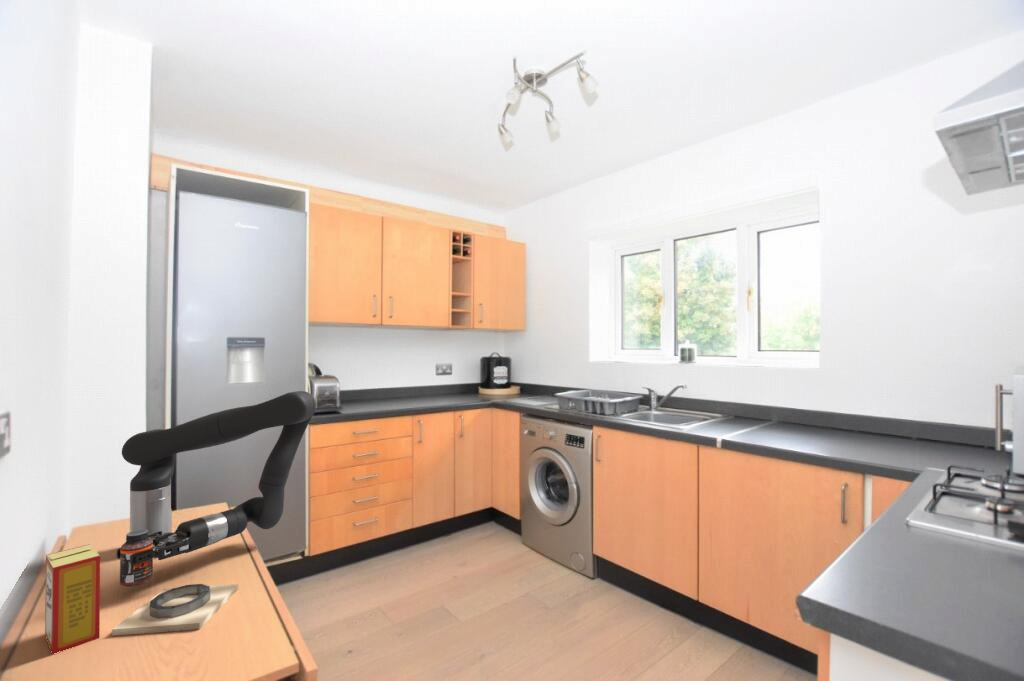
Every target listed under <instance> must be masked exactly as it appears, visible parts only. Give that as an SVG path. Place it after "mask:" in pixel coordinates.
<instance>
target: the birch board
mask: <svg viewBox="0 0 1024 681" xmlns="http://www.w3.org/2000/svg"><path fill="white" fill-rule="evenodd" d="M209 586H210V600H209V601H208V602H207V603H206V604H205V605H204V606H203V607H201V608H199V609H197V610H195V611H193V612H191V613H188V614H184V615H181V616H177V617H173V618H162V619H157V618H154V617H151V616H150V601H151V600H153V599H154V598H155V597H156V596H158V595H159V594H161V593H164V592H166V591H168V590H171V589H173V588H174V587H171V588H170V587H169V588H163V590H161V591H160V592H159V593H157V594H156V595H155V596H153V597H152V598H150V599H149V600H147V602H146V603H144V604H143V605H142V606H140V607H139V608H138V609H137V610H135V611H134V612H132V613H131V614H130V615H129V616H127V617H126V618H125V619H124V620H122V621H121V622H120V623H119V624H117V625H115V627H113V628H112V629H111V636H126V635H140V634H142V635H143V634H153V633H154V634H155V633H164V632H165V633H167V632H168V631H169V632H179V631H181V630H182V631H191V630H192V631H193V630H200V629H201V628H202V627H203V626H204V625H205V624H206V623H207V622H208V621H209V620H210V619H212V617H213V616H214V615H215V614H216V613H217V612H218V611H219V610H220V609H221V608H222V607H223V606H224V605H225V604H226V603H227V601H229V600H230V598H231V597H232V596H233V595H234V594H235V593H236V592H237V591H238V590H239V583H233V584H231V583H230V584H219V585H209ZM198 597H199V595H186V596H183V597H179V598H175V599H173V600H170V601H168V602H166V603H164V604H163V605H161V606H175V605H179V604H183V603H186V602H189V601H191V600H193V599H195V598H198Z"/></svg>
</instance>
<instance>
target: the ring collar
mask: <svg viewBox="0 0 1024 681" xmlns="http://www.w3.org/2000/svg"><path fill="white" fill-rule="evenodd" d="M210 586H211V585H208V584H203V583H196V584H195V583H191V584H186V585H181V586H178V587H177V586H176V587H172V588H173V589H171V590H168V591H166V592H164V593H161V594H159V595H158V596H156V595H155V596H156V597H155V596H154V597H155V598H154V599H153V600H151V599H150V600H151V601H150V616H151V617H154V618H157V619H162V618H173V617H177V616H181V615H184V614H188V613H191V612H193V611H195V610H197V609H199V608H201V607H203V606H204V605H205V604H206V603H207V602H208V601H209V600H210ZM186 595H199V597H198V598H195V599H193V600H191V601H189V602H186V603H183V604H179V605H175V606H161V605H163V604H164V603H166V602H168V601H170V600H173V599H175V598H179V597H183V596H186Z"/></svg>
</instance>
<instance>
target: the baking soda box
mask: <svg viewBox="0 0 1024 681" xmlns="http://www.w3.org/2000/svg"><path fill="white" fill-rule="evenodd" d="M100 579H101V556H100V554H99V553H98V552H97V550H96V549H95V548H94V546H93V545H91V544H86V545H81V546H76V547H73V548H69V549H65V550H61V551H57V552H53V553H48V554H45V596H44V600H45V604H44V607H45V610H44V611H45V612H44V613H45V615H44V616H45V618H44V624H45V625H44V626H45V627H44V636H45V635H46V637H47V640H48V642H47V644H48V643H49V645H48V647H49V646H50V648H51V650H50V652H51V651H52V653H51V655H52V654H54V653H57V652H59V651H62V652H64V651H63V650H65V651H67V650H66V649H68V650H70V649H73V648H75V647H78V646H79V647H80V646H81V645H85V644H86V643H90V642H92V641H94V640H97V639H100V630H101V629H100V627H101V626H100V625H101V624H100V621H101V620H100V619H101V618H100V617H101V616H100V612H101V611H100V610H101V609H100V604H101V601H100V600H101V596H100V594H101V580H100ZM46 637H45V638H46ZM47 640H46V641H47ZM72 647H73V648H72ZM50 648H49V649H50ZM69 648H70V649H69ZM59 653H60V652H59ZM57 654H58V653H57ZM54 655H55V654H54Z"/></svg>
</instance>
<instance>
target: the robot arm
mask: <svg viewBox="0 0 1024 681" xmlns="http://www.w3.org/2000/svg"><path fill="white" fill-rule="evenodd" d="M316 408H317V401H316V398H315V396H313V395H312V394H311V393H310V392H307V391H305V390H299V391H292V392H287V393H284V394H281V395H280V396H279V395H278V396H277V397H274V398H271V399H269V400H267V401H264V402H261V403H257V404H254V405H247V406H239V407H234V408H229V409H225V410H220V411H218V412H214V413H210V414H207V415H204V416H200V417H198V418H195V419H192V420H190V421H187V422H184V423H182V424H180V425H179V424H178V425H177V426H173V427H170V428H165V429H162V428H157V429H151V430H147V431H146V430H145V431H142V432H139V433H136V434H134V435H132V436H131V437H130V438H128V439H127V440H126V441H125V442H124V444H123V446H122V448H121V455H122V458H123V459H124V461H125V462H127V463H128V464H130V465H134V466H140V467H139V470H138V471H137V473H136V474H135V475H134V477H132V478H131V480H130V483H129V532H132V531H136V530H148V538H150V539H152V541H153V548H151V549H147V550H144V551H141V552H138V553H135V554H132V555H131V556H130V564H132V565H135V564H137V563H140V562H143V561H146V560H149V559H152V560H153V561H154V560H157V559H158V561H162V560H166V559H170V558H172V557H175V556H179V555H183V554H188V553H191V552H194V551H197V550H199V549H202V548H206V547H208V546H210V545H211V546H212V545H214V544H216V543H219V542H221V541H222V540H225V539H229V538H231V537H234V536H237V535H239V534H241V533H243V532H244V531H246V529H247V527H248V522H249V523H253V524H254V525H256V526H257V527H259V528H260V529H261V530H270V529H273V528H274V527H275V526H276V525H277V524H278V523H279V522H280V520H281V518H282V516H283V513H284V505H285V487H286V485H287V481H288V478H289V475H290V472H291V469H292V466H293V462H294V460H295V456H296V454H297V452H298V448H299V445H300V444H301V440H302V439H303V437H304V434H305V432H306V429H307V427H308V426H309V423H310V422H311V420H312V418H313V416H314V413H315V411H316ZM281 426H282V429H281V433H280V434H279V437H278V439H277V441H276V443H275V444H274V446H273V448H272V449H271V451H270V453H269V455H268V457H267V459H266V461H265V464H264V467H263V469H262V473H261V475H260V478H259V482H258V487H257V488H258V490H259V491H260V493H261V494H262V496H256V497H252V498H250V499H247V500H245V501H244V502H241V504H238V505H236V506H235V507H233V508H230V509H228V510H224V511H220V512H217V513H210V514H206V515H203V516H200V517H197V518H193V519H190V520H187V521H184V522H181V523H179V524H178V526H177V527H176V530H174V532H172V530H173V526H172V525H173V523H172V522H173V520H172V518H173V517H172V515H173V512H172V508H171V504H172V503H171V500H172V499H171V496H172V495H171V487H172V486H171V483H172V482H171V481H172V477H173V475H174V473H175V462H176V454H179V453H185V452H191V451H196V450H201V449H206V448H211V447H217V446H220V445H224V444H228V443H230V442H234V441H237V440H240V439H243V438H245V437H248V436H250V435H252V434H255V433H257V432H258V431H262V430H265V429H271V428H276V427H281ZM120 550H121V547H119V548H117V550H116V556H115V557H116V559H118V560H120V553H121V552H120Z"/></svg>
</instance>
